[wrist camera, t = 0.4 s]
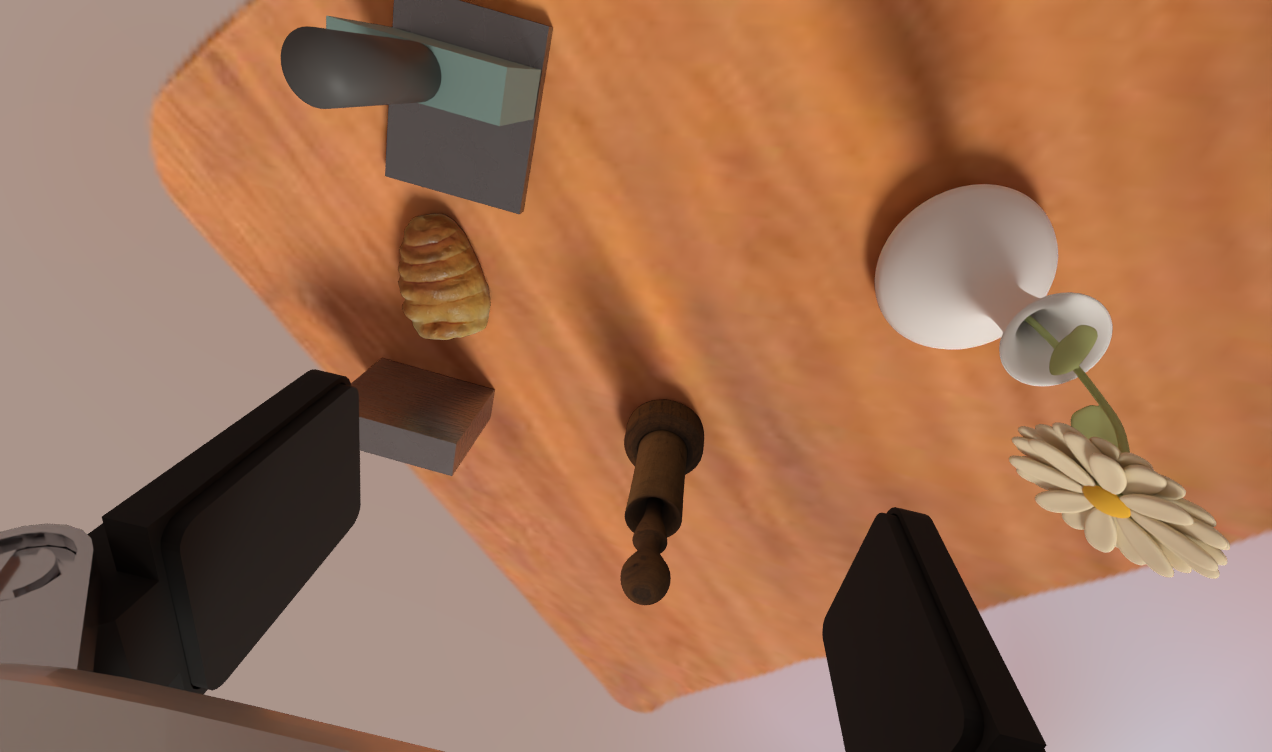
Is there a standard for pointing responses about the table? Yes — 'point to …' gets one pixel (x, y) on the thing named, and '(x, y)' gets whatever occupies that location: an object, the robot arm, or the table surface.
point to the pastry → (441, 280)
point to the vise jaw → (404, 72)
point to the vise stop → (420, 415)
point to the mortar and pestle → (657, 490)
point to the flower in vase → (1039, 367)
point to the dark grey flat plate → (454, 144)
